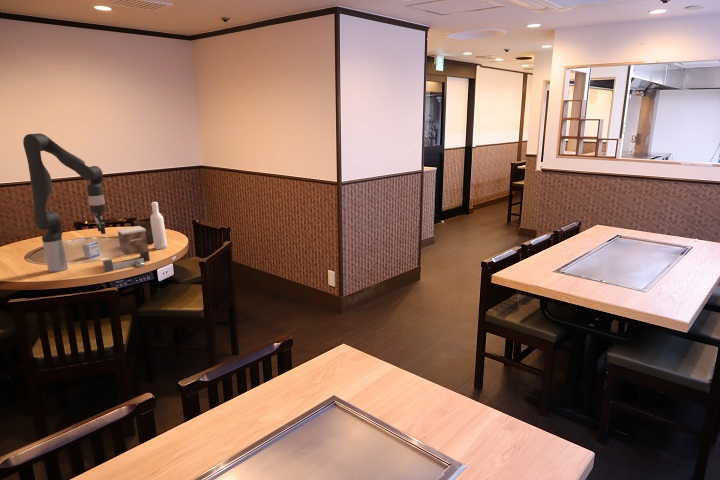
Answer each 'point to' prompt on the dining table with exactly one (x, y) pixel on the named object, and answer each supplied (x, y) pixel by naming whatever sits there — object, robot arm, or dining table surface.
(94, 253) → the medicine box
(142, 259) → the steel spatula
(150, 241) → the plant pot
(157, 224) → the bottle
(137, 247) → the walnut cabinet
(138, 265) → the steel token
